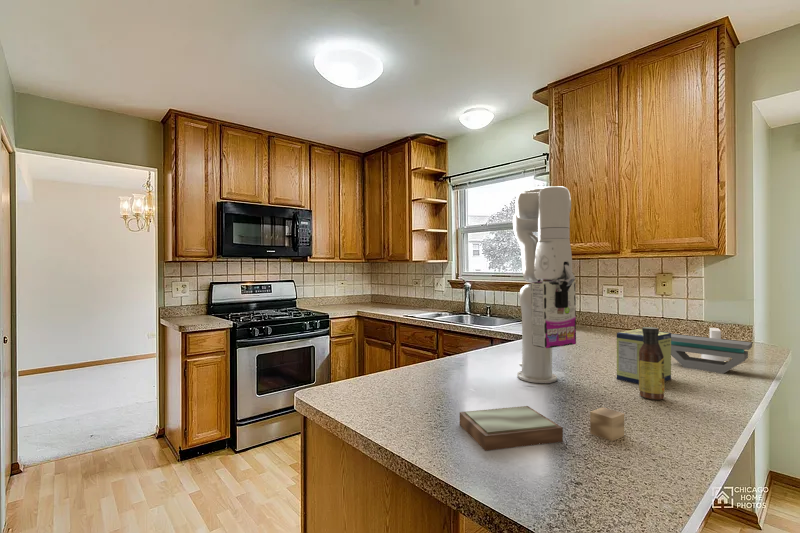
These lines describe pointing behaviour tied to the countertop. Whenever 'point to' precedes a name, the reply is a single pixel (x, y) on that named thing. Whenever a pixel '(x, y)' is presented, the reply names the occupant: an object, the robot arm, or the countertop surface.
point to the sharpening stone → (708, 352)
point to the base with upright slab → (716, 334)
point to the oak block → (607, 423)
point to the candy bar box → (552, 316)
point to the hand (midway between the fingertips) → (553, 305)
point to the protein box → (629, 354)
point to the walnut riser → (510, 427)
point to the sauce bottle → (651, 366)
